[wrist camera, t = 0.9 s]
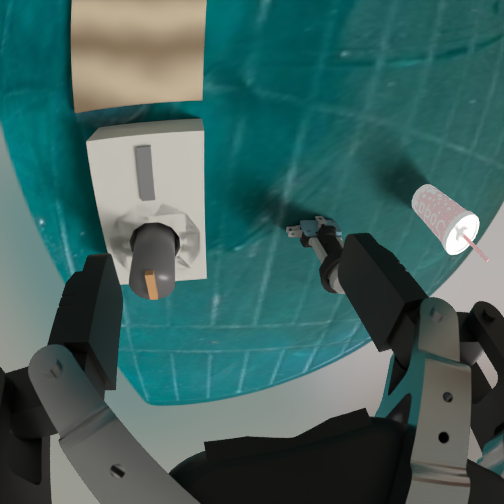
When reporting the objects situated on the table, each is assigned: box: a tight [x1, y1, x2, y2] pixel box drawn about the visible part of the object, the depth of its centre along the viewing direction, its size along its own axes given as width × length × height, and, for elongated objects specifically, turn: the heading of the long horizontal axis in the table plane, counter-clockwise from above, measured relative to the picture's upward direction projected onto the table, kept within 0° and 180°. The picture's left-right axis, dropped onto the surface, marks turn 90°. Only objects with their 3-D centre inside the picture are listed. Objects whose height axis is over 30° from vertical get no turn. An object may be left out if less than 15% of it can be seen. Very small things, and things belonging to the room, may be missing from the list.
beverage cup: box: [412, 184, 489, 262], centre depth 33 cm, size 6×6×14 cm
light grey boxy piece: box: [86, 119, 207, 284], centre depth 29 cm, size 16×10×5 cm, turn 176°
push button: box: [286, 216, 345, 294], centre depth 34 cm, size 7×5×10 cm
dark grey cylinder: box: [129, 222, 175, 300], centre depth 29 cm, size 4×4×11 cm
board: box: [71, 0, 207, 113], centre depth 21 cm, size 12×12×1 cm
